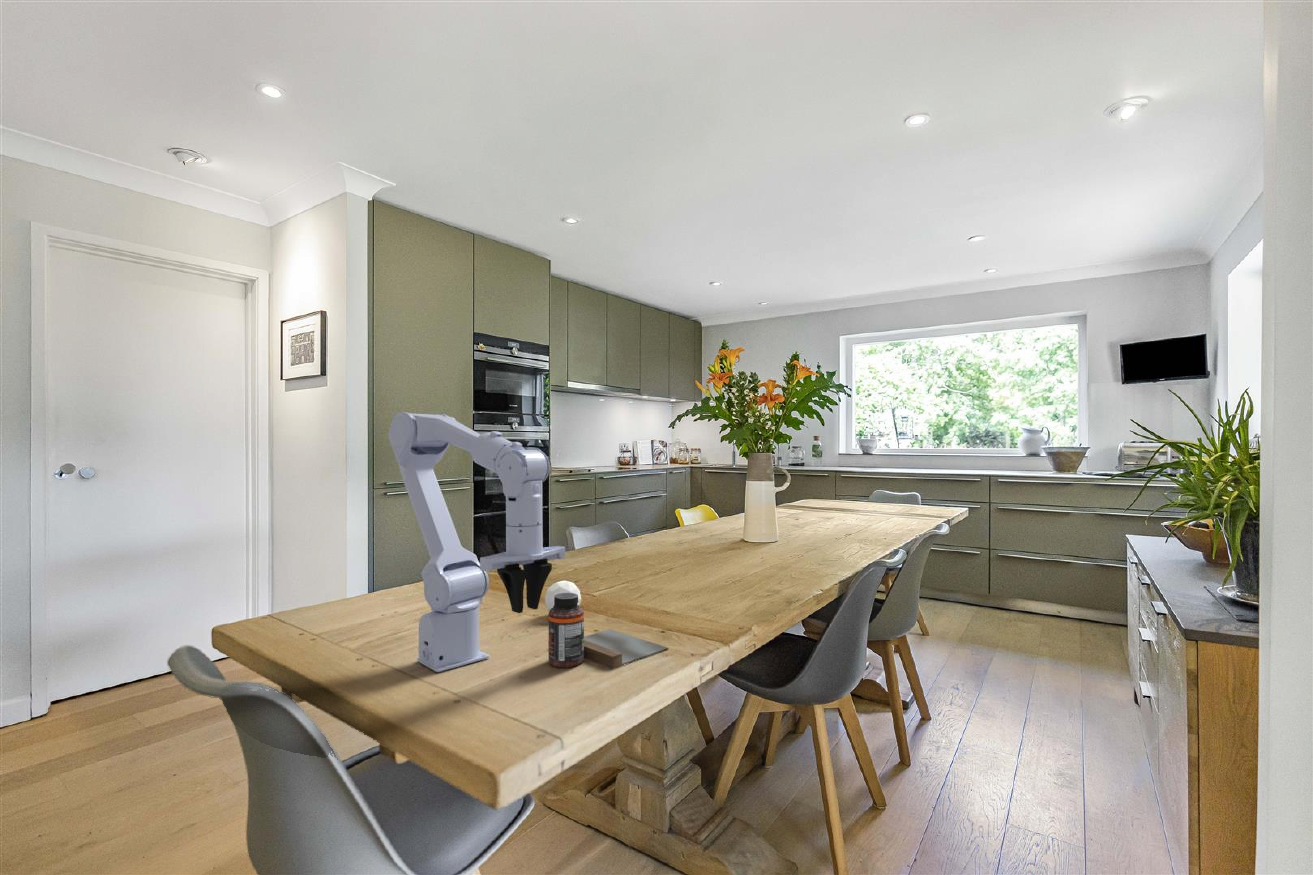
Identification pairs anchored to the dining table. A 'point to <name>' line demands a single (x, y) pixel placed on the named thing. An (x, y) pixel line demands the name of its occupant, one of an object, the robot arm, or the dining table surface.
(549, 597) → the geometric ball
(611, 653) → the stop bar and mat
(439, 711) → the dining table surface
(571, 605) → the supplement bottle
